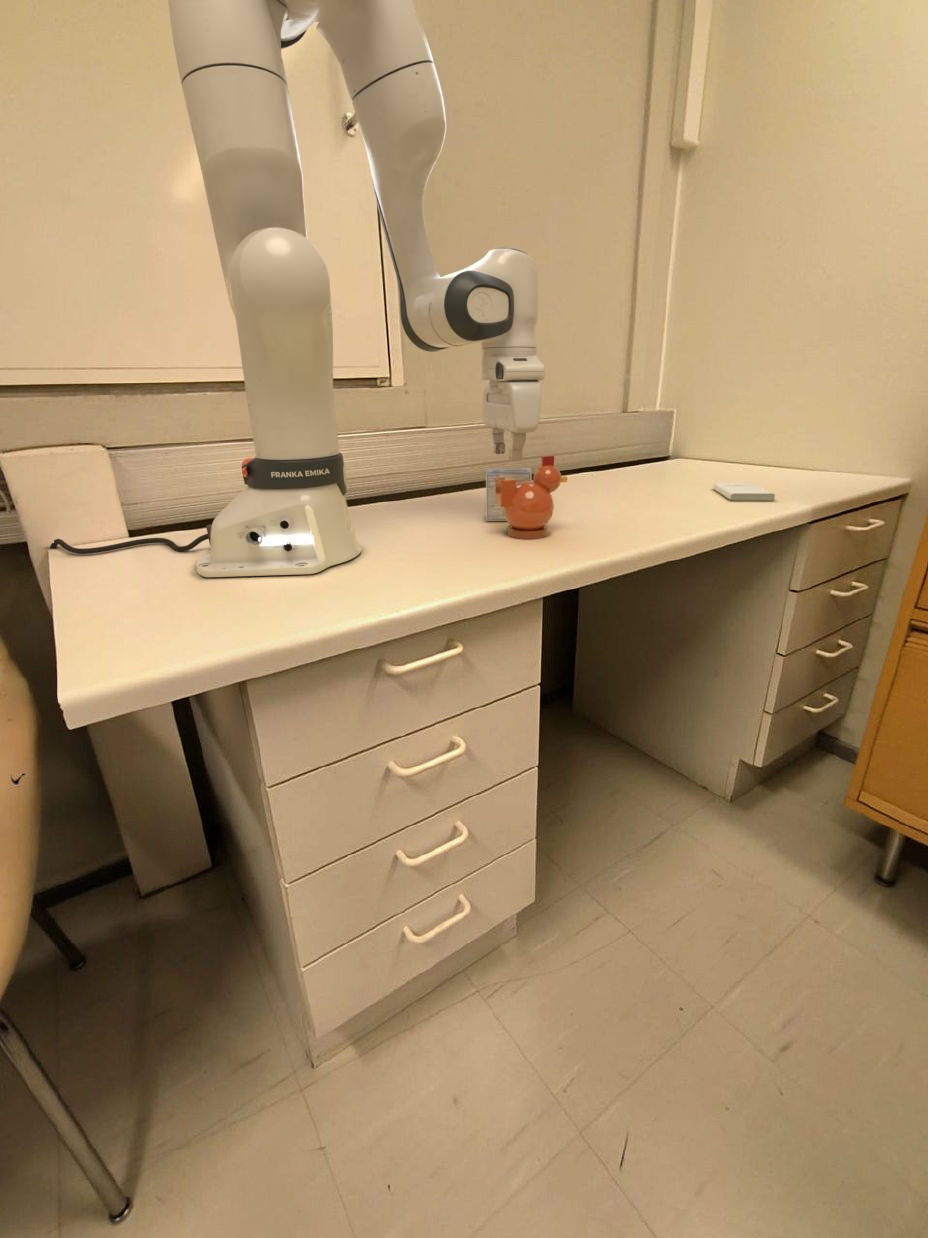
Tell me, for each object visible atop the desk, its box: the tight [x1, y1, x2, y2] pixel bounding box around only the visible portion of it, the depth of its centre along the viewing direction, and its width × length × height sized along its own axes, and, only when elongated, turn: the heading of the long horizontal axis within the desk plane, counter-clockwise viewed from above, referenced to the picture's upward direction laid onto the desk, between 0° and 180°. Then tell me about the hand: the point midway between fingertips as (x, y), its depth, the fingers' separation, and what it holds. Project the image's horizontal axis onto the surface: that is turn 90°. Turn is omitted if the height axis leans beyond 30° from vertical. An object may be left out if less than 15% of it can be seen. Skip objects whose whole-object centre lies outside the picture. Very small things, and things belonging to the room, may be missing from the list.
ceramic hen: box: [495, 454, 568, 540], centre depth 89 cm, size 11×8×12 cm
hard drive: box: [712, 482, 776, 502], centre depth 116 cm, size 2×8×12 cm
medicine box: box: [485, 467, 533, 522], centre depth 99 cm, size 8×4×9 cm, turn 85°
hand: (507, 456), depth 97 cm, fingers open, 8 cm apart
